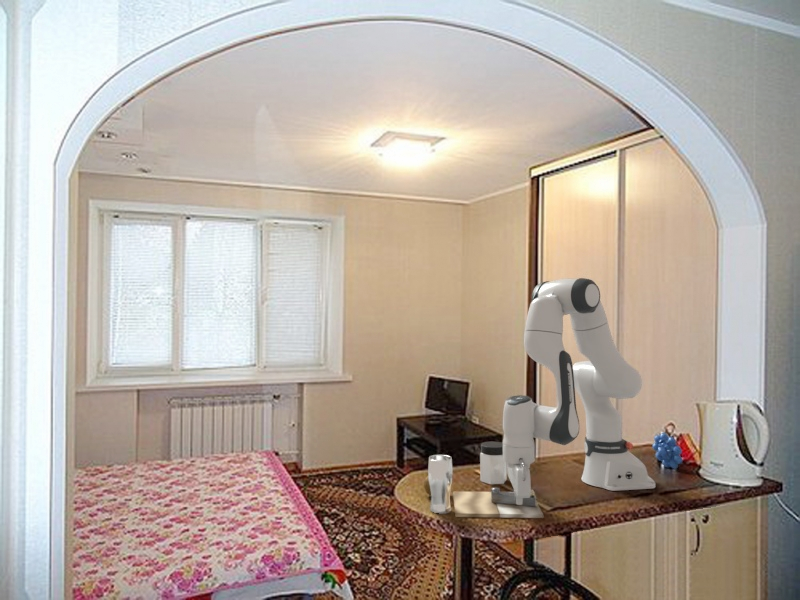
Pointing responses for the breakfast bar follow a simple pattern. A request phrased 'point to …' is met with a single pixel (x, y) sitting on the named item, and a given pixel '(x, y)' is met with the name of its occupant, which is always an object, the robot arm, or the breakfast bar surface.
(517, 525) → the breakfast bar surface
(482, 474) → the jar
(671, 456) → the grapes
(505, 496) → the bar
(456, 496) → the door board
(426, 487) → the onion
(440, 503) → the beer glass
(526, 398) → the robot arm
